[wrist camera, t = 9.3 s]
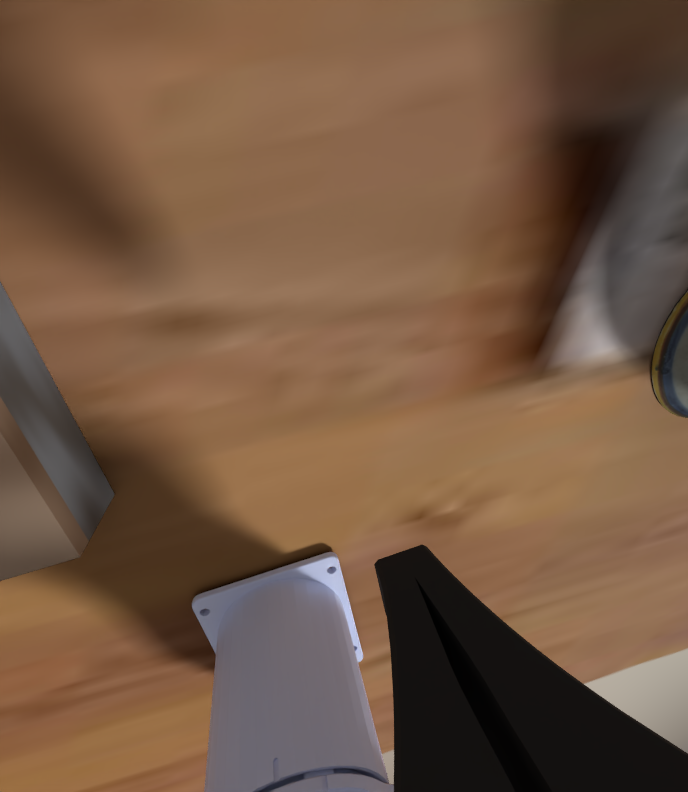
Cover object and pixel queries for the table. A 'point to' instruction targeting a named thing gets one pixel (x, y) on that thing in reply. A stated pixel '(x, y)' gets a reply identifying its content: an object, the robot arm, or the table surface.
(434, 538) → the table surface
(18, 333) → the brown grey rectangular block
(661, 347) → the apothecary jar
